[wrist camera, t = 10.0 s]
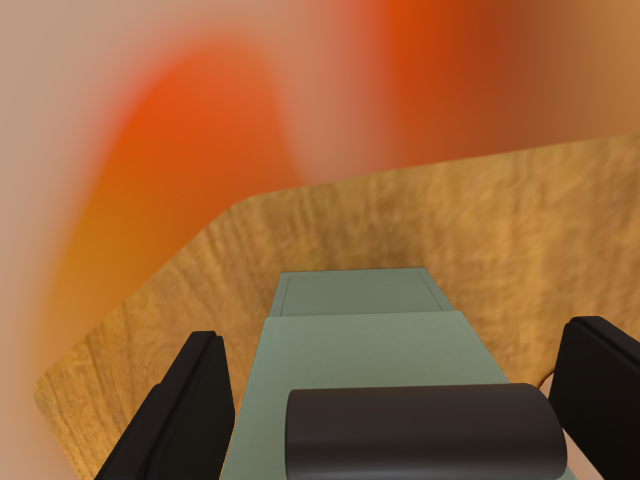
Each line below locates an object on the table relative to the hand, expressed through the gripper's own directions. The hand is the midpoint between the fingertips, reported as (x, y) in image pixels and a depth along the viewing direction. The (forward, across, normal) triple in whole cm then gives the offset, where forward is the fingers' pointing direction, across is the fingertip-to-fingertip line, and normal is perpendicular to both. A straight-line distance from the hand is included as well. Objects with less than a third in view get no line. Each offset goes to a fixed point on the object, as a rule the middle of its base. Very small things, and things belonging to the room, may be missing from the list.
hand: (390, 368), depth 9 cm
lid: (+3, 0, +5) cm, 6 cm away
